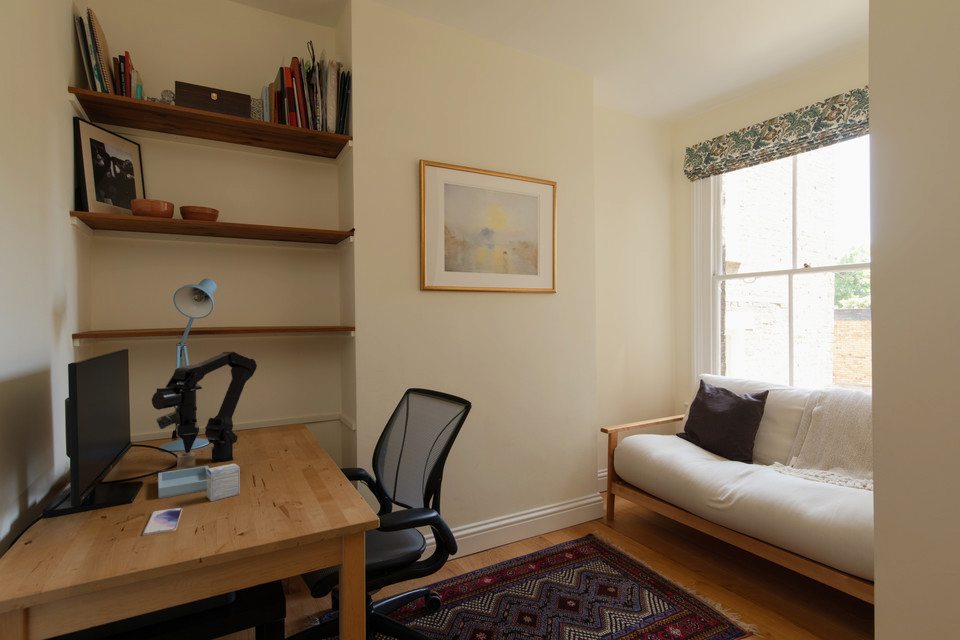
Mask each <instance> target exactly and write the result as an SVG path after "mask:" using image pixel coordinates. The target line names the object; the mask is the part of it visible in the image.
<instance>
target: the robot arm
mask: <svg viewBox="0 0 960 640" xmlns="http://www.w3.org/2000/svg"><path fill="white" fill-rule="evenodd" d="M225 366H228V367H230V368H231V369H230V374H231V381H230V384H229V385H228V388H227V391H226V393H225V395H224V398H223V401H222V403H221V405H220V408H219V411H218V412H217V414H216V415H215V416H214V417H209V418H208V420H207V423H206V426H205V428H204V429H205V430H204V435H205V438H207V441H208V444H212V447H210V453H211V454H210V459H211V461H213V463H218V462H219V463H220V462H226V461H233V460H234V456H233V453H234V450H233V449H234V447H233V446H234V444H235V443H237V442H238V438H239V436H238V435H237V434H236V433H235V432H234V431H233V428H234V422H233V415H234V414H235V411H236V408H237V406H238V402H239V400H240V398H241V395H242V393H243V390H244V387H245V384H246V383H247V382H248V380H250V379H251V378H252V377H253V376H254V374H255V372H256V370H257V367H258V364H257V362H256V360H255V359H254V358H249V357H247V356H244V355H241V354H239V353H237V352H235V351H228V350H227V351H226V350H225V351H223V352H221V353H220V354H217V355H215V356H213V357H211V358H208V359H206V360H203V361H202V362H199V363H196V364H189V365H183V366H179V367H177V368H176V369H174V372H173V374H172V376H171V378H170V379H169V381H168V382H167V384H166V385H165V387H157V388H156V391H155V392H154V394H153V395H152V397H151V404H152V407H153V408H154V409H156V410H158V411H160V410H162V409H163V410H165V409H168V408H174V409H175V411H172V412H169V413H167V414H165V415H162V416H159V417H158V418H156V423H157V425H158V427H159V430H163V429H166V427H169V426H171V425H174V424H175V425H174V426H175V429H176V436H177V437H178V438H180V439H182V443H183V448H184V453H189V452H191V450H192V448H193V445H194V444H195V443H194V442H195V441H196V439H197V437H198V435H199V433H200V426H199V424H198V423H197V422H198V421H197V420H198V419H197V410H198V409H197V391H198V390H202V389H203V386H201V385H199V382H200V381H201V380H203V379H204V378H205V376H206V375H207V374H210V373H212V372H214V371H217V370H219V369H220V368H222V367H225Z"/></svg>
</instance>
